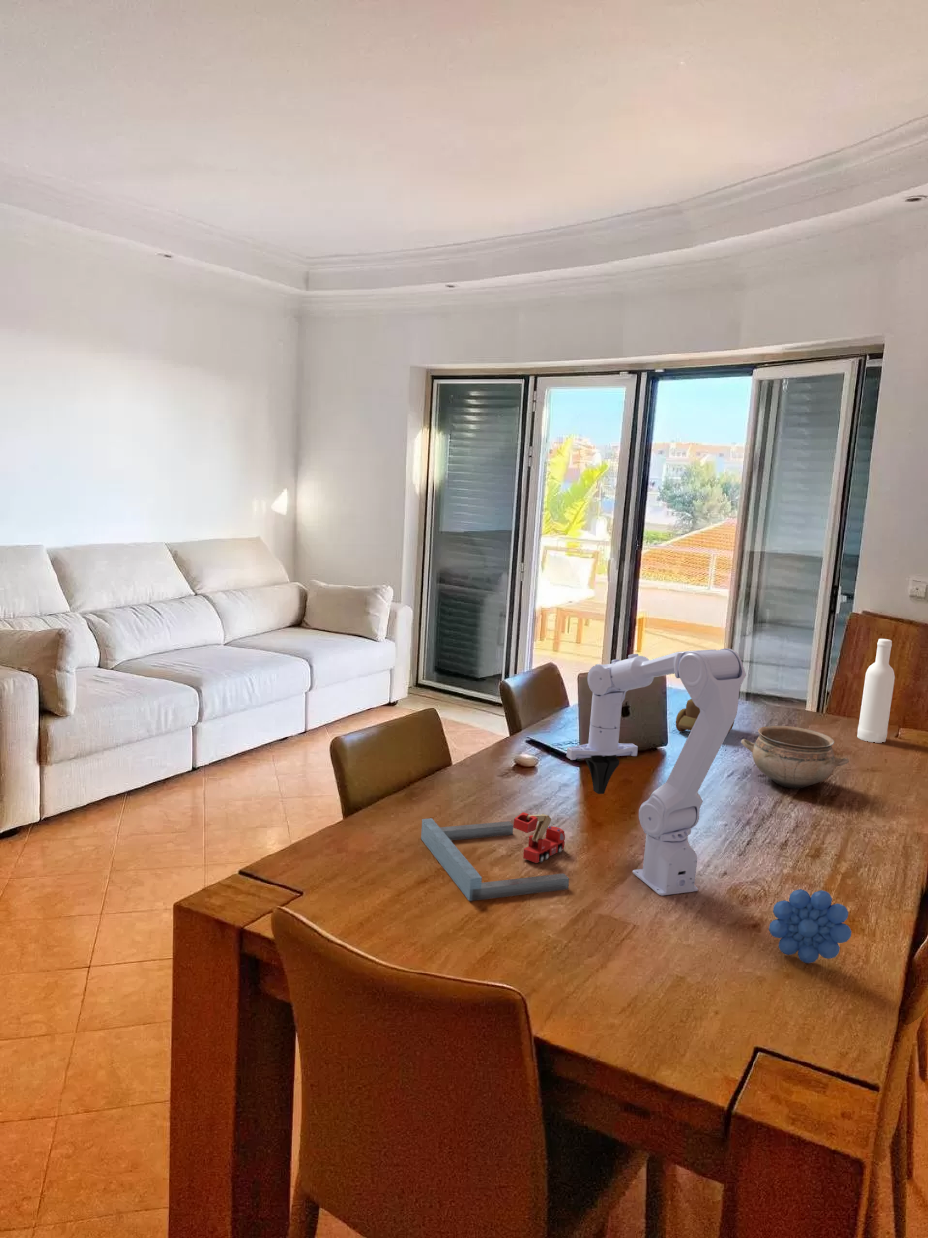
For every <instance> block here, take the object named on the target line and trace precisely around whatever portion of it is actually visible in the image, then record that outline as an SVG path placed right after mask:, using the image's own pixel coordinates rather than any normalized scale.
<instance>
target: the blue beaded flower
mask: <svg viewBox="0 0 928 1238" xmlns="http://www.w3.org/2000/svg"><path fill="white" fill-rule="evenodd" d="M832 902H833V898H832V896H831V894H830V892H829V891H826V890H822V889H820V890H818V891H815V892H813V893H812V894H811V895H810V893H809V892H808V891H807V890H805V889H802V888H799V889H794V890H793V891H792V892H791V893H790V894H789V899H788V900H785V899H783V900H780V901H777V902H776V903H775V904H773V905H774V906H773V910H772V913H773V915H774V916H775V918H776V919H772V921H771V922H770V923H769V926H768V931H769V933H770V935H771V936H772V937H773V938H777V939H779V942H778V949H779V951H780V953H782V954H784V955H786V956H791V955H796V953H797V956H798V959H799V960H800V961H801V962H803V963H804V964H811V963H814V962H816V961H817V960H818V958H819V956H820V957H822V958H824V959H827V960H828V959H829V960H830V959H834V958H836V957H837V956H838V955H839V953H840V948H841V947H840V945H839V944H843V943H847V942H848V941H849V940H850V939H851V936H852V930H851V928H850V926H849V925H847V924H846V923H845V922H846V921H847V920H848V918H849V911H848V908H847V907H846V906H845V905H843V904H841V903H834V904H832Z"/></svg>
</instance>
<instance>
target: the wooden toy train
mask: <svg viewBox="0 0 928 1238" xmlns="http://www.w3.org/2000/svg"><path fill="white" fill-rule="evenodd" d="M699 713H700V708H698V707H697V706H696V705H695V704H694V702H693V700H692V699H691V698H690V699H687V701H686V705H685V708H682V709H680V710H679V711H678V713H677V715H676V718H675V727H676V730H677V731H678V732H680V733H684V732H686V731H689V732H691V730H692V728H693V726H694V724H695V722H696V720H697V717H698V715H699ZM734 724H735V721H734V722H733V724H732V726H731V728H730V730H729V731H728V733H729V732H730V731H732V729H733V727H734Z"/></svg>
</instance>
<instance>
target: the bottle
mask: <svg viewBox="0 0 928 1238" xmlns="http://www.w3.org/2000/svg"><path fill="white" fill-rule="evenodd" d="M892 642H893V641H892V640H891V639H887V638H878V641H877V643H876V644H877V648H876V656H875V661H874V662H873V663H872V664H871V665H869V666H868V668H867V669H866V672H865V677H864V685H863V692H862V697H861V706H860V713H859V721H858V725H857V734H856V735H857V739H859V740H861V741H865V742H867V741H868V743H873V742H875V743H874V744H883V743H882V742H884V743H885V742H886V741H887V736H888V727H889V722H890V721H889V719H890V712H891V705H892V700H893V693H894V686H895V680H896V676H895V671H894V668H893V667H892V666H891V665H890V657H891V650H892V647H893V643H892Z"/></svg>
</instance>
